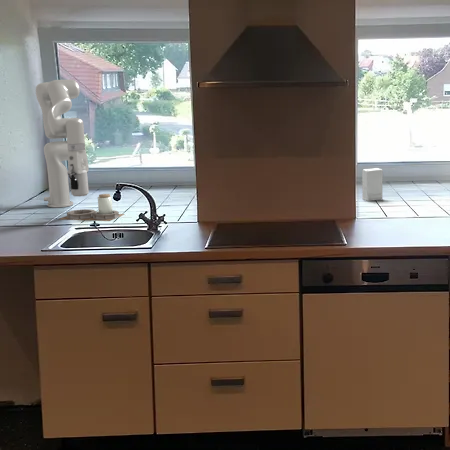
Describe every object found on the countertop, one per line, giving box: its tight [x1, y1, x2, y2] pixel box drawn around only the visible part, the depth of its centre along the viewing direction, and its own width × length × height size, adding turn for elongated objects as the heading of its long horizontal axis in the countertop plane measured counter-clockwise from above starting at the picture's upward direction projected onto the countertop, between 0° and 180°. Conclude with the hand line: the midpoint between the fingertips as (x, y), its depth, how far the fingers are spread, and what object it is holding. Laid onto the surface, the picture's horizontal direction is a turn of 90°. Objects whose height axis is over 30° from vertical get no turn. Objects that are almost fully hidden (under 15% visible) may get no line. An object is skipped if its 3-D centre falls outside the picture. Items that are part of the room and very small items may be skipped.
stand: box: [59, 208, 125, 222], centre depth 294 cm, size 25×15×3 cm, turn 73°
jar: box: [97, 193, 114, 214], centre depth 291 cm, size 6×6×10 cm
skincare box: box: [361, 167, 384, 202], centre depth 320 cm, size 8×6×15 cm
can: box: [69, 169, 90, 197], centre depth 293 cm, size 8×8×12 cm
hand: (79, 187), depth 293 cm, fingers closed on can, 7 cm apart
